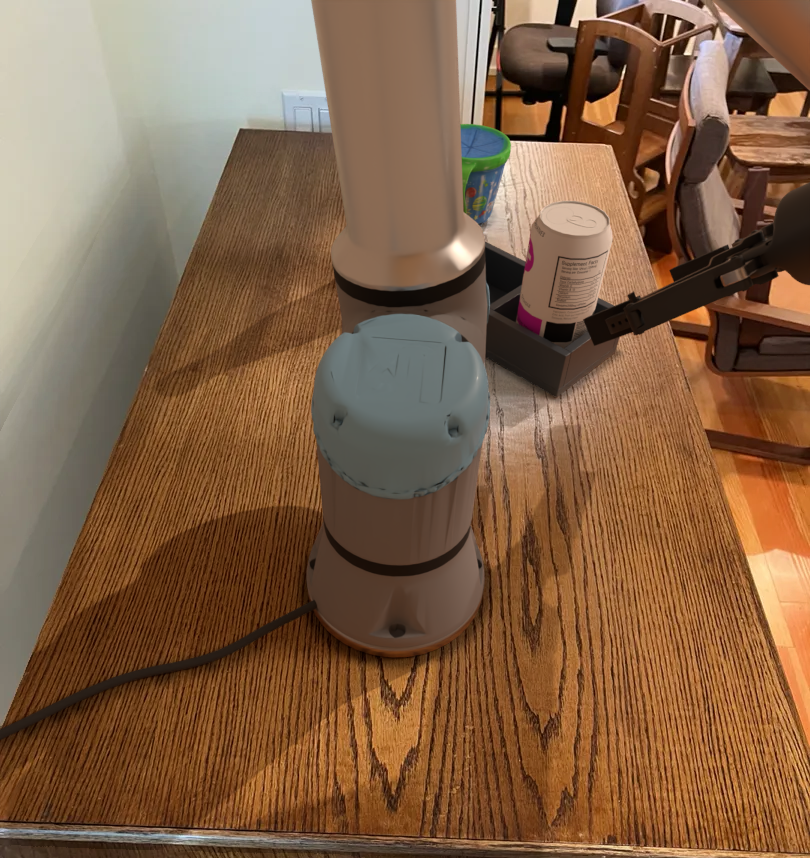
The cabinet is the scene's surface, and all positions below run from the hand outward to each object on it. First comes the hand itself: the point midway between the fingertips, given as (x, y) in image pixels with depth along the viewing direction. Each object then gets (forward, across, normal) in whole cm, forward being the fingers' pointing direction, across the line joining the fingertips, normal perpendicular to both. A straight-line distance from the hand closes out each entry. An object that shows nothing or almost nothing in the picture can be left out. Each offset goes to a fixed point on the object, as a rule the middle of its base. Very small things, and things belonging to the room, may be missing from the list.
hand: (634, 305), depth 76 cm
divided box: (+18, 0, +2) cm, 18 cm away
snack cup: (+35, +15, +19) cm, 42 cm away
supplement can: (+14, 0, -1) cm, 14 cm away
